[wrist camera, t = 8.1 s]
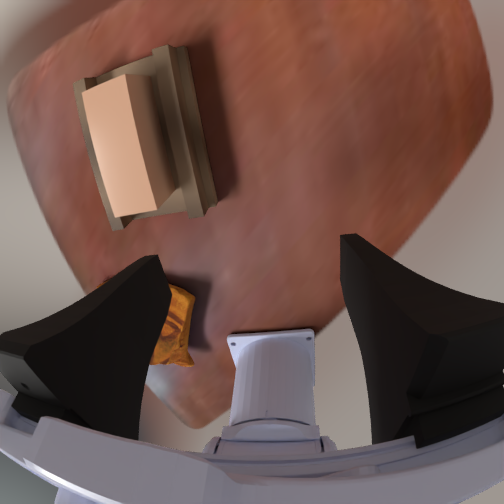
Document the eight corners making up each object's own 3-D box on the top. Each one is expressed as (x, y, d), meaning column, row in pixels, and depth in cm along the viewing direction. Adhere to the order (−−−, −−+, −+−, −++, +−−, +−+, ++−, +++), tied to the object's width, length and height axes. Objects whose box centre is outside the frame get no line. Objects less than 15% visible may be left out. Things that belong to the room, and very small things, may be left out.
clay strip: (175, 189, 19) (157, 209, 16) (137, 197, 19) (114, 217, 16) (150, 75, 15) (124, 73, 12) (111, 90, 15) (81, 92, 12)
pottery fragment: (117, 365, 27) (73, 305, 20) (128, 331, 30) (93, 267, 24) (208, 374, 26) (183, 312, 20) (213, 336, 30) (194, 267, 23)
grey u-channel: (218, 202, 20) (211, 215, 18) (121, 218, 21) (107, 231, 19) (187, 47, 14) (175, 42, 12) (86, 84, 16) (67, 86, 14)
